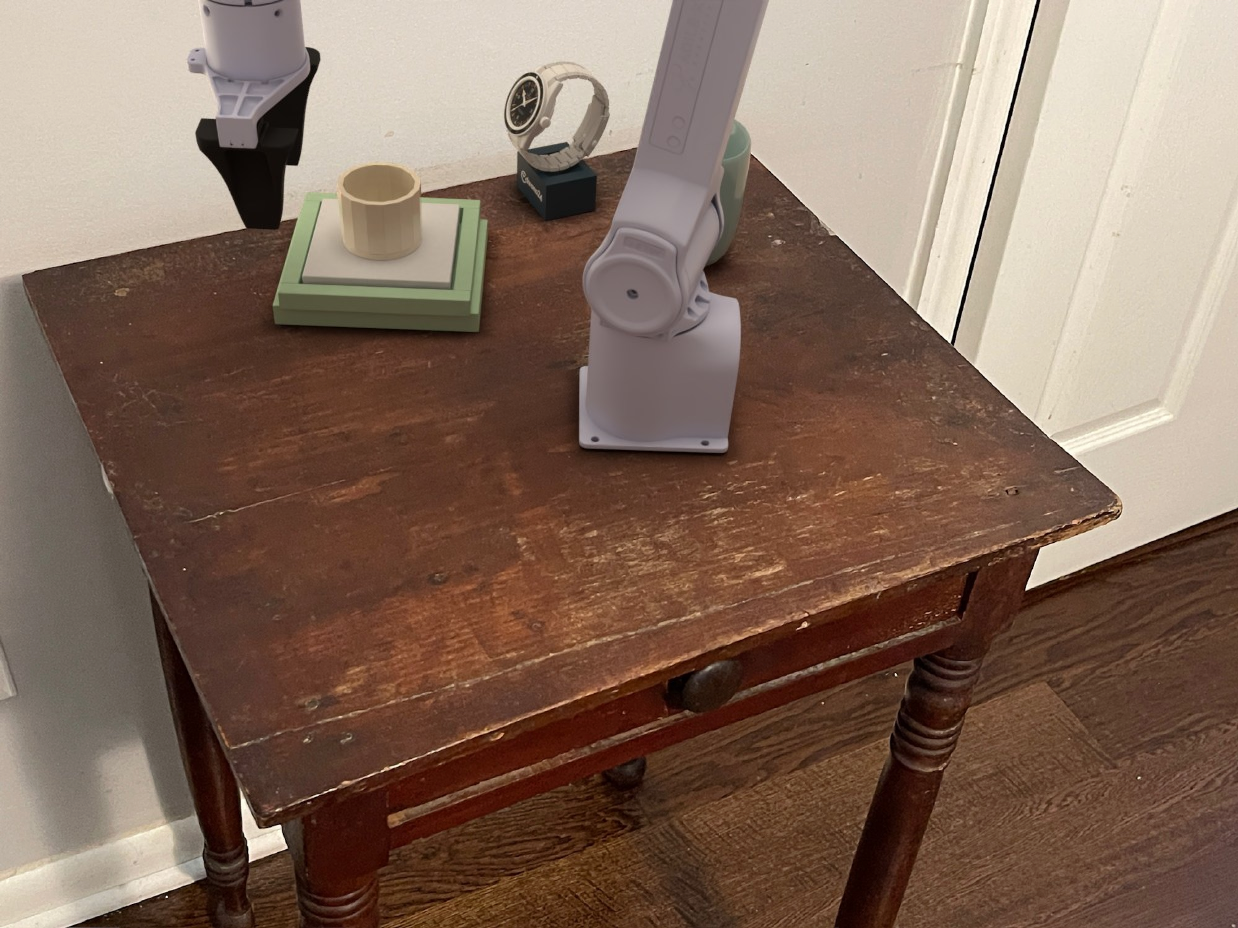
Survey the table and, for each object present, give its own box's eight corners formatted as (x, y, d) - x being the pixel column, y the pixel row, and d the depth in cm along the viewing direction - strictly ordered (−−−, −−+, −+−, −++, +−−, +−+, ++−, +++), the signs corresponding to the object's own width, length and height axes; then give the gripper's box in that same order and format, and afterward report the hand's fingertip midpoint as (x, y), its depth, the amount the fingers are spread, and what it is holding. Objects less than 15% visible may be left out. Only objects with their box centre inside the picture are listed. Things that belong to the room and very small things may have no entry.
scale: (488, 234, 103) (487, 200, 101) (478, 336, 94) (478, 301, 92) (302, 226, 103) (298, 191, 100) (273, 328, 93) (269, 292, 91)
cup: (738, 285, 100) (756, 166, 94) (633, 279, 100) (643, 159, 93) (732, 228, 106) (749, 112, 99) (633, 222, 106) (643, 105, 99)
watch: (494, 190, 108) (494, 61, 101) (585, 172, 111) (591, 45, 104) (522, 226, 104) (524, 95, 97) (615, 206, 107) (624, 77, 100)
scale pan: (460, 222, 101) (459, 204, 100) (450, 300, 93) (449, 282, 92) (324, 216, 100) (322, 197, 99) (304, 294, 93) (301, 275, 92)
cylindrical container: (425, 219, 98) (423, 164, 95) (418, 262, 94) (416, 206, 91) (347, 215, 98) (343, 160, 95) (337, 259, 94) (332, 202, 91)
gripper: (202, -67, 82) (231, 134, 92) (146, 38, 72) (184, 254, 81) (320, -61, 83) (336, 139, 92) (280, 45, 72) (304, 259, 81)
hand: (273, 193), depth 86 cm, fingers open, 7 cm apart
